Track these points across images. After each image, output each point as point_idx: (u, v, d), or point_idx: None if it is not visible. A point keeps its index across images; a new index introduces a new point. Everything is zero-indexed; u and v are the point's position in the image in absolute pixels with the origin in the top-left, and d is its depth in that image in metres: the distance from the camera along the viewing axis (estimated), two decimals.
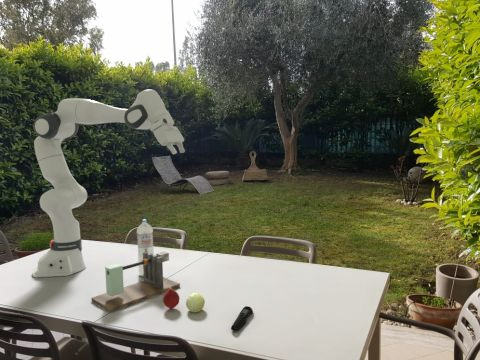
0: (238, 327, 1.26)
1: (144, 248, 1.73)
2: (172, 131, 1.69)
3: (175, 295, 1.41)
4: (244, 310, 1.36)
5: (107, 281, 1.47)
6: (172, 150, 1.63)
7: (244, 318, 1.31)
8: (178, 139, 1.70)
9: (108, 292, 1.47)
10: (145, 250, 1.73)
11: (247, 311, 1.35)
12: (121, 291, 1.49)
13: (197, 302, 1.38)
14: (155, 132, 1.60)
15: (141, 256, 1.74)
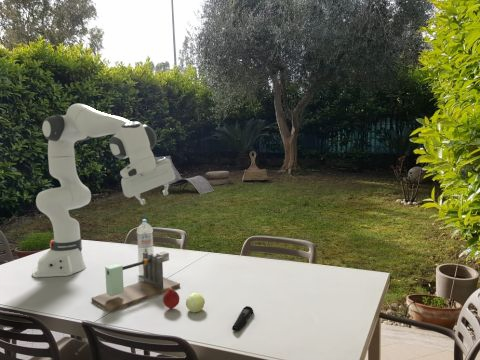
0: (239, 327, 1.26)
1: (144, 248, 1.73)
2: (152, 175, 1.48)
3: (175, 295, 1.41)
4: (244, 310, 1.36)
5: (107, 281, 1.47)
6: (140, 201, 1.48)
7: (245, 318, 1.31)
8: (158, 184, 1.49)
9: (108, 292, 1.47)
10: (145, 250, 1.73)
11: (248, 311, 1.35)
12: (121, 291, 1.49)
13: (197, 302, 1.38)
14: (121, 181, 1.45)
15: (141, 256, 1.74)
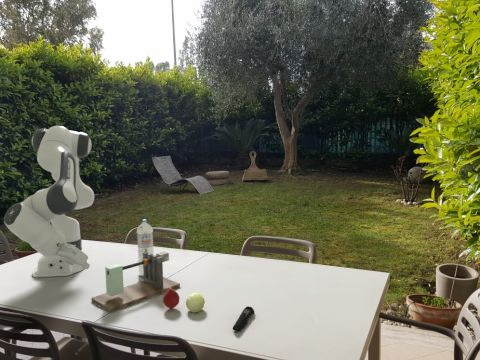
0: (240, 327, 1.26)
1: (144, 248, 1.73)
2: (59, 254, 1.29)
3: (175, 295, 1.41)
4: (245, 311, 1.35)
5: (107, 281, 1.47)
6: None
7: (246, 318, 1.31)
8: (69, 262, 1.31)
9: (108, 292, 1.47)
10: (145, 250, 1.73)
11: (248, 311, 1.35)
12: (121, 291, 1.49)
13: (197, 302, 1.38)
14: None
15: (141, 256, 1.74)
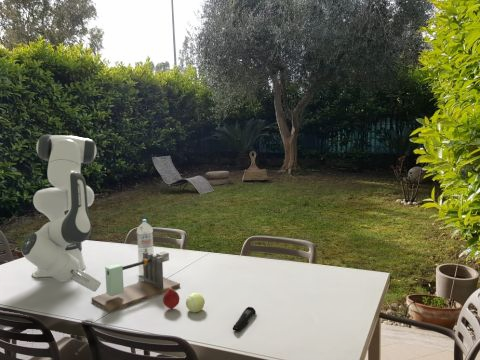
0: (240, 328, 1.25)
1: (144, 248, 1.73)
2: None
3: (175, 295, 1.41)
4: (246, 311, 1.35)
5: (107, 281, 1.47)
6: None
7: (246, 319, 1.31)
8: None
9: (108, 292, 1.47)
10: (145, 250, 1.73)
11: (250, 312, 1.35)
12: (121, 291, 1.49)
13: (197, 302, 1.38)
14: None
15: (141, 256, 1.74)
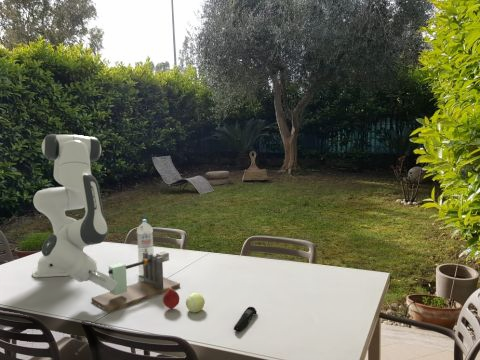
0: (241, 327, 1.25)
1: (144, 248, 1.73)
2: (91, 279, 1.40)
3: (175, 295, 1.41)
4: (247, 311, 1.35)
5: None
6: None
7: (247, 318, 1.30)
8: None
9: (111, 291, 1.48)
10: (145, 250, 1.73)
11: (250, 311, 1.35)
12: (124, 290, 1.50)
13: (197, 302, 1.38)
14: None
15: (141, 256, 1.74)
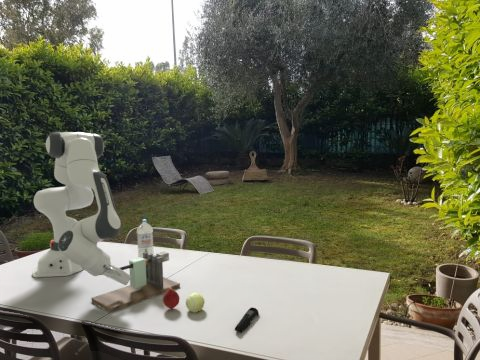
0: (242, 328, 1.25)
1: (144, 248, 1.73)
2: (105, 273, 1.44)
3: (175, 295, 1.41)
4: (249, 312, 1.35)
5: (131, 274, 1.54)
6: None
7: (249, 319, 1.30)
8: None
9: (132, 284, 1.55)
10: (145, 250, 1.73)
11: (252, 312, 1.34)
12: (144, 283, 1.56)
13: (197, 302, 1.38)
14: None
15: (141, 256, 1.74)
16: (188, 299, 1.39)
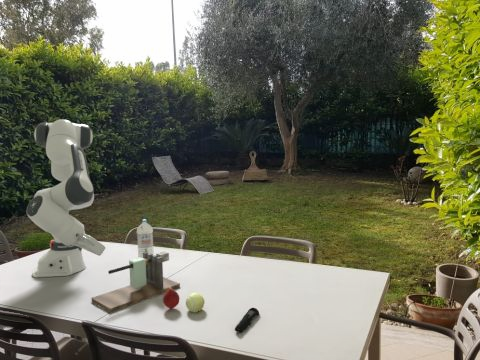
0: (242, 328, 1.25)
1: (144, 248, 1.73)
2: (78, 243, 1.36)
3: (175, 295, 1.41)
4: (250, 312, 1.35)
5: (131, 274, 1.54)
6: None
7: (249, 319, 1.30)
8: None
9: (132, 284, 1.55)
10: (145, 250, 1.73)
11: (253, 312, 1.34)
12: (144, 283, 1.56)
13: (197, 302, 1.38)
14: None
15: (141, 256, 1.74)
16: (188, 299, 1.39)
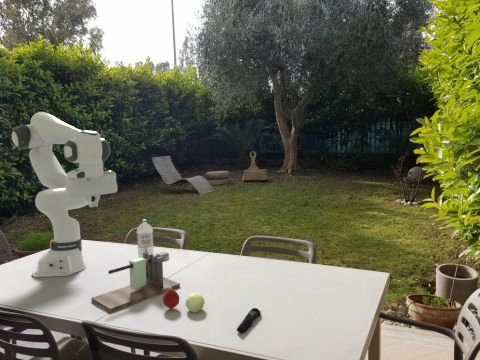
0: (244, 329, 1.25)
1: (144, 248, 1.73)
2: (97, 182, 1.56)
3: (175, 295, 1.41)
4: (251, 312, 1.34)
5: (131, 274, 1.54)
6: (89, 203, 1.56)
7: (251, 320, 1.30)
8: (100, 192, 1.58)
9: (132, 284, 1.55)
10: (145, 250, 1.73)
11: (254, 313, 1.34)
12: (144, 283, 1.56)
13: (197, 302, 1.38)
14: (66, 182, 1.51)
15: (141, 256, 1.74)
16: (188, 299, 1.39)
